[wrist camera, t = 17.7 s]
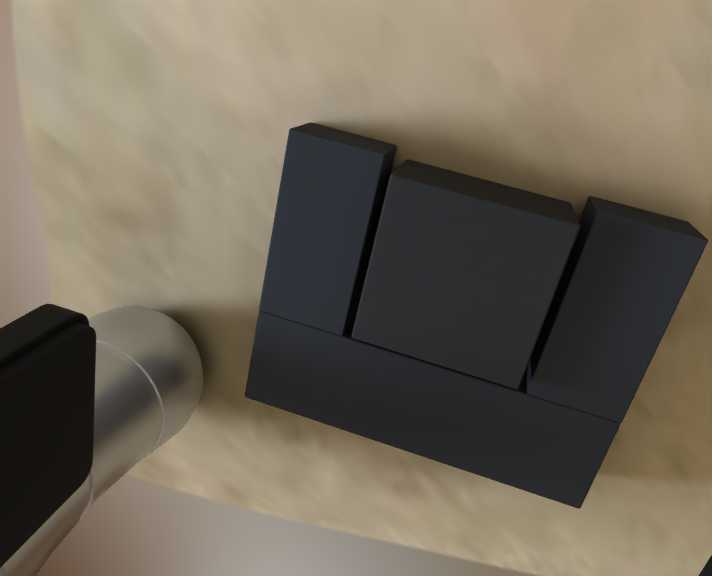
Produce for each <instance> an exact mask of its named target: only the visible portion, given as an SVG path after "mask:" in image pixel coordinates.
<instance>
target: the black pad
mask: <svg viewBox="0 0 712 576" xmlns="http://www.w3.org/2000/svg"><path fill="white" fill-rule="evenodd" d="M579 229H580V223H579V221H578V219H577V216H576V214H575V212H574V209H573V207H572V205H571V203H570V202H566V201H562V200H558V199H555V198H551V197H547V196H543V195H539V194H536V193H532V192H528V191H524V190H521V189H517V188H513V187H509V186H506V185H502V184H498V183H494V182H491V181H487V180H483V179H479V178H476V177H472V176H468V175H464V174H460V173H457V172H453V171H449V170H445V169H442V168H438V167H434V166H430V165H427V164H423V163H419V162H415V161H412V160H406V161H405V162H404V163H403V164H402V165H401V166H400V167H398V168H397V169H396V170H395V171H394V172H393V173H392V174H391V175H390V179H389V183H388V188H387V192H386V196H385V200H384V204H383V208H382V212H381V217H380V221H379V225H378V229H377V233H376V237H375V241H374V245H373V250H372V254H371V258H370V262H369V266H368V270H367V274H366V278H365V283H364V287H363V291H362V295H361V299H360V303H359V307H358V311H357V316H356V320H355V324H354V328H353V332H352V338H354V339H357V340H361V341H364V342H367V343H370V344H373V345H377V346H380V347H383V348H386V349H389V350H393V351H396V352H399V353H402V354H405V355H409V356H412V357H415V358H418V359H421V360H425V361H428V362H431V363H434V364H437V365H441V366H444V367H447V368H450V369H453V370H457V371H460V372H463V373H466V374H469V375H473V376H476V377H479V378H482V379H485V380H489V381H492V382H495V383H498V384H501V385H505V386H508V387H511V388H514V389H518V388H519V386H520V383H521V381H522V378H523V375H524V373H525V370H526V368H527V365H528V362H529V360H530V357H531V355H532V352H533V349H534V347H535V344H536V341H537V339H538V336H539V334H540V331H541V328H542V326H543V323H544V321H545V318H546V315H547V313H548V310H549V308H550V305H551V302H552V300H553V297H554V294H555V292H556V289H557V287H558V284H559V281H560V279H561V276H562V274H563V271H564V268H565V266H566V263H567V261H568V258H569V255H570V253H571V250H572V247H573V245H574V242H575V240H576V237H577V234H578V232H579Z"/></svg>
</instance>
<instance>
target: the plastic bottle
mask: <svg viewBox="0 0 712 576" xmlns="http://www.w3.org/2000/svg"><path fill="white" fill-rule="evenodd" d="M88 321H89V326H90V327H92V328H94V330H95V332H96V368H95V404H94V440H93V463H92V468H91V471H90V473H89V475H88V477H87V479H86V480H85V482H84V483H83V484H82V485H81V486H80V487H79V488H78V490H77V491H76V492H75V493H74V494H73V495H72V496H71V497H70V498H69V499H68V500H67V501H66V502H65V503H64V504H63V505H62V506H61V507H60V508H59V509H58V510H57V511H56V512H55V513H54V514H53V515H52V516H51V517H50V518H49V519H48V520H47V521H46V522H45V523H44V524H43V525H42V526H41V527H40V528H39V529H38V530H37V531H36V532H35V533H34V534H33V535H32V536H31V537H30V538H29V539H28V540H27V541H26V542H25V543H24V544H23V546H22V547H21V548H20V549H19V550H18V551H17V552H16V553H15V554H14V555H13V556H12V557H11V558H10V559H9V560H8V561H7V562H6V563H5V564H4V565H3V566H2V567H1V568H0V576H37V574H38V573H39V572H40V570H41V569H42V567H43V566H44V564H45V563H46V561H47V560H48V559H49V557H50V556H51V554H52V553H53V552H54V550H55V549H56V548H57V547H58V545H59V544H60V543H61V542H62V541H63V539H64V538H65V537H66V536H67V535H68V533H69V532H70V531H71V530H72V529H73V528H74V526H75V525H76V524H77V523H78V521H79V520H80V518H81V517H83V516H84V514H85V513H86V512H87V511H88V510H89V508H90V507H91V506H92V505H93V504H94V502H95V501H96V500H97V499H98V498H99V497H100V496H101V495H102V494H103V493H104V492H105V491H107V490H108V489H109V488H110V487H111V486H112V485H113V484H114V483H115V482H116V481H118V479H120V478H121V477H122V476H123V475H124V474H125V473H126V472H128V471H129V470H130V469H131V468H132V467H133V466H134V465H135V464H136V463H137V462H139V461H140V460H141V459H142V458H143V457H145V456H147V455H148V454H150V453H151V452H153V451H154V450H156V449H157V448H159V447H160V446H161V445H163V444H164V443H165V442H167V441H168V440H169V439H170V438H171V437H173V436H174V435H175V434H176V433H178V432H179V431H180V430H181V429H182V428H183V426H184V425H185V424H186V423H187V421H188V420H189V418H190V416H191V414H192V412H193V410H194V409H195V407H196V405H197V403H198V401H199V399H200V397H201V393H202V389H203V370H202V364H201V359H200V355H199V352H198V350H197V347H196V345H195V343H194V342H193V340H192V338H191V337H190V335H189V334H188V333H187V332H186V331H185V329H184V328H183V327H182V326H181V325H179V324H178V323H177V322H176V321H175V320H173V319H172V318H170V317H169V316H167V315H165V314H163V313H160V312H158V311H155V310H152V309H150V308H145V307H141V306H123V307H118V308H114V309H112V310H109V311H106V312H103V313H100V314H97V315H95V316H93V317H91V318H89V319H88Z"/></svg>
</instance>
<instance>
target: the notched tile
mask: <svg viewBox="0 0 712 576" xmlns="http://www.w3.org/2000/svg"><path fill="white" fill-rule="evenodd" d="M396 147H397V146H396V145H394V144H390V143H386V142H382V141H379V140H375V139H371V138H367V137H363V136H360V135H356V134H352V133H348V132H344V131H341V130H337V129H333V128H329V127H325V126H322V125H318V124H314V123H307V124H304V125H301V126H298V127H294V128H291V129H290V130H289V135H288V141H287V147H286V153H285V159H284V165H283V171H282V177H281V183H280V189H279V194H278V200H277V206H276V212H275V218H274V224H273V230H272V236H271V242H270V248H269V254H268V260H267V266H266V272H265V278H264V283H263V289H262V295H261V301H260V307H259V310H260V311H259V315H258V321H257V327H256V332H255V338H254V344H253V350H252V356H251V362H250V368H249V374H248V380H247V386H246V392H245V397H247V398H250V399H253V400H256V401H259V402H262V403H265V404H268V405H271V406H274V407H277V408H280V409H283V410H286V411H289V412H292V413H295V414H298V415H301V416H304V417H307V418H310V419H313V420H316V421H319V422H322V423H325V424H328V425H331V426H334V427H337V428H340V429H343V430H346V431H349V432H351V433H354V434H357V435H360V436H363V437H366V438H369V439H372V440H375V441H378V442H381V443H384V444H387V445H390V446H393V447H396V448H399V449H402V450H405V451H408V452H411V453H414V454H417V455H420V456H423V457H426V458H429V459H432V460H435V461H438V462H441V463H444V464H447V465H450V466H453V467H456V468H459V469H462V470H465V471H468V472H471V473H474V474H477V475H480V476H483V477H486V478H489V479H492V480H495V481H498V482H501V483H504V484H507V485H510V486H513V487H516V488H519V489H522V490H525V491H528V492H531V493H534V494H537V495H540V496H543V497H546V498H549V499H552V500H555V501H558V502H561V503H564V504H567V505H570V506H573V507H576V508H581V506H582V504H583V501H584V499H585V497H586V495H587V493H588V491H589V489H590V487H591V485H592V483H593V481H594V478H595V476H596V474H597V472H598V470H599V468H600V466H601V464H602V462H603V460H604V457H605V455H606V453H607V451H608V449H609V447H610V445H611V443H612V441H613V439H614V436H615V434H616V432H617V430H618V428H619V426H620V423H621V422H622V421H623V418H624V416H625V414H626V412H627V410H628V408H629V406H630V404H631V402H632V400H633V397H634V395H635V393H636V391H637V389H638V387H639V385H640V383H641V381H642V379H643V376H644V374H645V372H646V370H647V368H648V366H649V364H650V362H651V360H652V358H653V355H654V353H655V351H656V349H657V347H658V345H659V343H660V341H661V339H662V337H663V335H664V332H665V330H666V328H667V326H668V324H669V322H670V320H671V318H672V316H673V314H674V311H675V309H676V307H677V305H678V303H679V301H680V299H681V297H682V295H683V293H684V290H685V288H686V286H687V284H688V282H689V280H690V278H691V276H692V274H693V272H694V269H695V267H696V265H697V263H698V261H699V259H700V257H701V255H702V253H703V251H704V248H705V246H706V244H707V242H708V239H706V238H705V237H704V236H703V235H702V234H701V233H700V232H699V231H698V230H697V229H695V228H694V227H693V226H692V225H691V224H690V223H689V222H687V221H683V220H679V219H675V218H672V217H668V216H664V215H660V214H656V213H653V212H649V211H645V210H641V209H637V208H634V207H630V206H626V205H622V204H618V203H615V202H611V201H607V200H603V199H599V198H596V197H592V196H590V197H589V198H588V201H587V203H586V206H585V209H584V211H583V214H582V216H581V219H580V222H579V223H580V229H579V232H578V234H577V237H576V240H575V242H574V245H573V247H572V250H571V253H570V255H569V258H568V261H567V263H566V266H565V268H564V271H563V274H562V276H561V279H560V281H559V284H558V287H557V289H556V292H555V294H554V297H553V300H552V302H551V305H550V308H549V310H548V313H547V315H546V318H545V321H544V323H543V326H542V328H541V331H540V334H539V336H538V339H537V341H536V344H535V347H534V349H533V352H532V355H531V357H530V360H529V362H528V365H527V368H526V370H525V373H524V375H523V378H522V381H521V383H520V386H519V388H518V389H514V388H511V387H508V386H505V385H501V384H498V383H495V382H492V381H489V380H485V379H482V378H479V377H476V376H473V375H469V374H466V373H463V372H460V371H457V370H453V369H450V368H447V367H444V366H441V365H437V364H434V363H431V362H428V361H425V360H421V359H418V358H415V357H412V356H409V355H405V354H402V353H399V352H396V351H393V350H389V349H386V348H383V347H380V346H377V345H373V344H370V343H367V342H364V341H361V340H357V339H354V338H352V332H353V328H354V324H355V320H356V316H357V314H356V313H357V309H358V305H359V301H360V297H361V293H362V288H363V284H364V280H365V276H366V272H367V268H368V263H369V259H370V255H371V251H372V247H373V243H374V239H375V234H376V230H377V226H378V222H379V218H380V214H381V210H382V205H383V201H384V197H385V193H386V189H387V185H388V181H389V176H390V172H391V168H392V164H393V160H394V156H395V152H396Z"/></svg>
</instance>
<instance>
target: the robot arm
mask: <svg viewBox="0 0 712 576" xmlns="http://www.w3.org/2000/svg"><path fill="white" fill-rule="evenodd" d="M95 368H96V332H95V330H94V328H92V327H90V326H89V321H88V319H87V317H86V316H85V315H83V314H81V313H78V312H75V311H72V310H69V309H66V308H63V307H59V306H56V305H53V304H45V305H42V306H40V307H38V308H37V309H35V310H33V311H31V312H29V313H27V314H26V315H24V316H22V317H20V318H18V319H17V320H15V321H13V322H11V323H9V324H7V325H6V326H4V327H2V328H0V568H1V567H2V566H3V565H4V564H5V563H6V562H7V561H8V560H9V559H10V558H11V557H12V556H13V555H14V554H15V553H16V552H17V551H18V550H19V549H20V548H21V547H22V546H23V544H24V543H25V542H26V541H27V540H28V539H29V538H30V537H31V536H32V535H33V534H34V533H35V532H36V531H37V530H38V529H39V528H40V527H41V526H42V525H43V524H44V523H45V522H46V521H47V520H48V519H49V518H50V517H51V516H52V515H53V514H54V513H55V512H56V511H57V510H58V509H59V508H60V507H61V506H62V505H63V504H64V503H65V502H66V501H67V500H68V499H69V498H70V497H71V496H72V495H73V494H74V493H75V492H76V491H77V490H78V488H79V487H80V486H81V485H82V484H83V483H84V482H85V480H86V479H87V477H88V475H89V473H90V471H91V468H92V463H93V440H94V404H95ZM699 576H712V556H711V557H710V559H709V560H708V562H707V563H706V565H705V567H704V568H703V570H702V571H701V573H700V574H699Z"/></svg>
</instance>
